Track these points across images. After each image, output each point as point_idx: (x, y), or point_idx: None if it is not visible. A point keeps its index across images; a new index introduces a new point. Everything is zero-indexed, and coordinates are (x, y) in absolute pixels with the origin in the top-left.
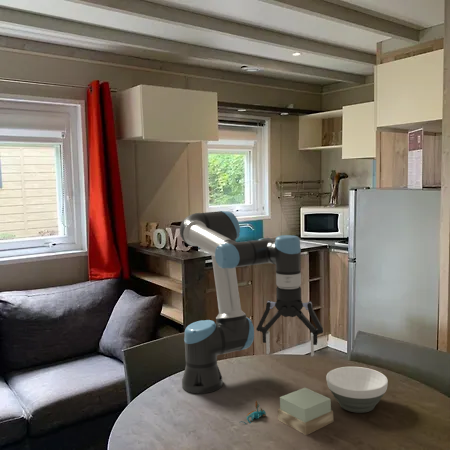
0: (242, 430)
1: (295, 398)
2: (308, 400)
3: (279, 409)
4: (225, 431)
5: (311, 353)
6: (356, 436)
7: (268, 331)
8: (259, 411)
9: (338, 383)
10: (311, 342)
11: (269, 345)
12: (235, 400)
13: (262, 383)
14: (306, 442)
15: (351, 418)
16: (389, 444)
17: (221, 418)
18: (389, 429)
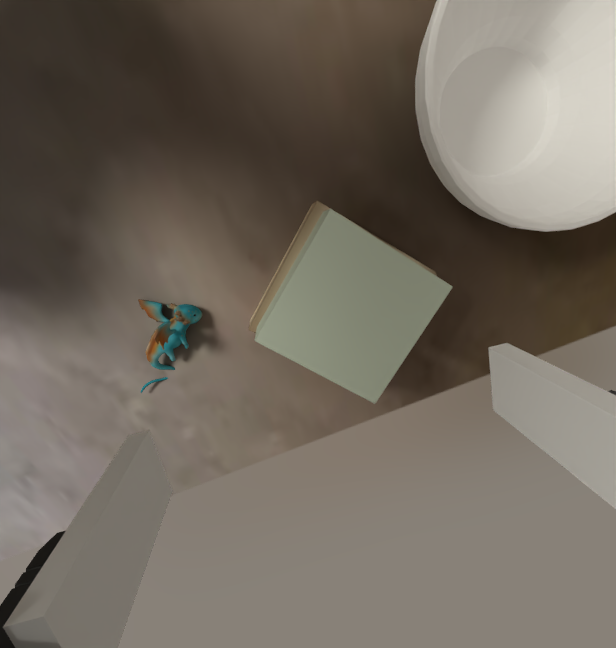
0: (170, 416)
1: (319, 330)
2: (372, 330)
3: (254, 328)
4: (124, 439)
5: (511, 420)
6: (491, 329)
7: (39, 634)
8: (177, 323)
9: (447, 32)
10: (590, 480)
11: (135, 482)
12: (29, 229)
13: (46, 2)
14: (366, 406)
15: (473, 225)
16: (572, 337)
17: (64, 376)
18: (580, 256)
